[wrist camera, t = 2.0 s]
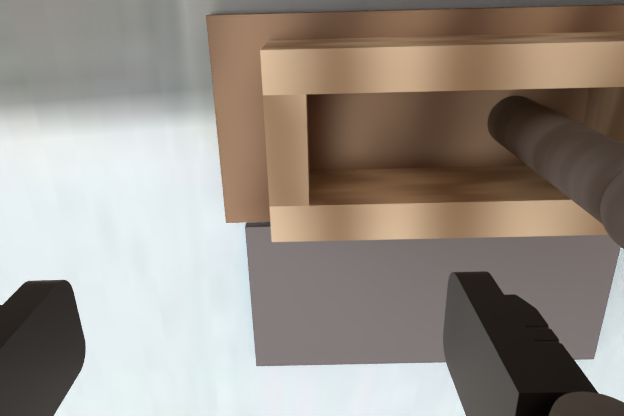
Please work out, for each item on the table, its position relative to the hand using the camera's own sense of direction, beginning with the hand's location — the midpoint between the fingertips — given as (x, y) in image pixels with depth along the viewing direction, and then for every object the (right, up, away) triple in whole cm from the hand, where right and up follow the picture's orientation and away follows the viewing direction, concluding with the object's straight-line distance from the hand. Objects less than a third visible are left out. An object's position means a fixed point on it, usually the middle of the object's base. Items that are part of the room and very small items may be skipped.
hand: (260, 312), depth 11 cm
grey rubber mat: (+8, -3, +21) cm, 23 cm away
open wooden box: (+8, +7, +16) cm, 19 cm away
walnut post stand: (+8, +7, +17) cm, 20 cm away
